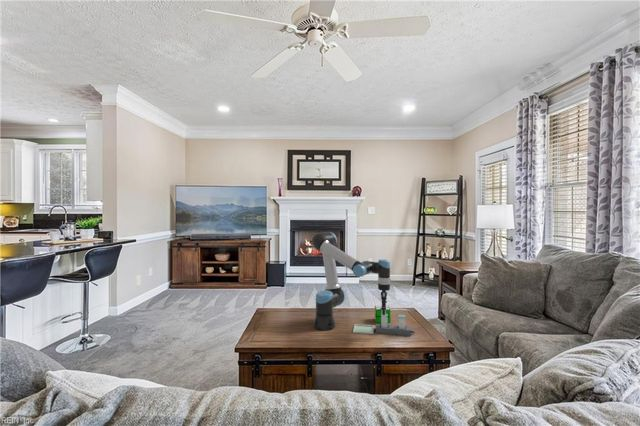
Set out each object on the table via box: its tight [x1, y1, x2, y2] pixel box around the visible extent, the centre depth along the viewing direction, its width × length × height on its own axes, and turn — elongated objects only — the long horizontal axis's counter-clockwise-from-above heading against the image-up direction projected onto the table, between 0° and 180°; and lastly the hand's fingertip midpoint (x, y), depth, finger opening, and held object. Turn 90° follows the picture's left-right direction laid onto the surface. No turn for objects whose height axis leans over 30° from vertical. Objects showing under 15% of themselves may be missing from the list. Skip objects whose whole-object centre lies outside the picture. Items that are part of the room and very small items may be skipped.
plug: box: [380, 314, 389, 328], centre depth 196 cm, size 4×4×11 cm
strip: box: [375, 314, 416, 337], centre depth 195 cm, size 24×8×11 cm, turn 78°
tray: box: [352, 323, 375, 335], centre depth 199 cm, size 13×13×1 cm
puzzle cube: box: [374, 304, 391, 324], centre depth 216 cm, size 10×10×10 cm
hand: (383, 315), depth 196 cm, fingers open, 13 cm apart
